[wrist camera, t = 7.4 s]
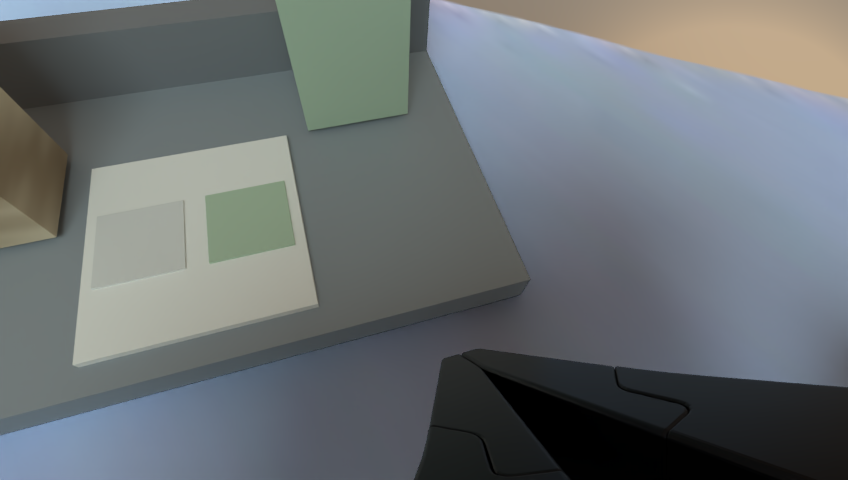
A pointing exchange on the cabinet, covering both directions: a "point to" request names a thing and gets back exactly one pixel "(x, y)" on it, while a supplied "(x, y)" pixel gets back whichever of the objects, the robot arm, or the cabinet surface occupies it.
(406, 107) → the sage block
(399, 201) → the switch board
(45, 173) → the beech block
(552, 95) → the cabinet surface
